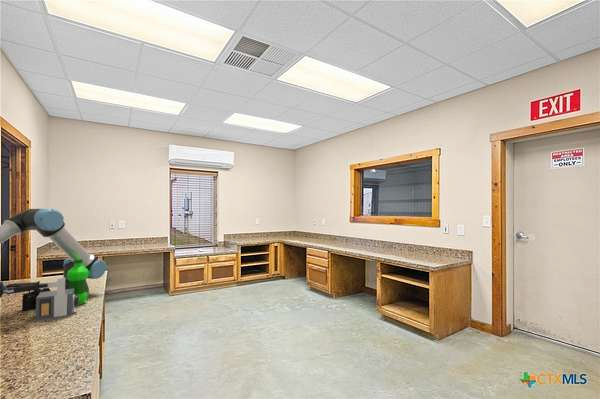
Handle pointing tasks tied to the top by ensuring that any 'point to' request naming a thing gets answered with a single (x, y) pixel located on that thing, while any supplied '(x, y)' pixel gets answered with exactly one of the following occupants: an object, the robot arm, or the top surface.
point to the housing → (47, 304)
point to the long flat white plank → (60, 299)
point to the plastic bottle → (78, 280)
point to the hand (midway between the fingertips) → (56, 284)
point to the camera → (31, 299)
